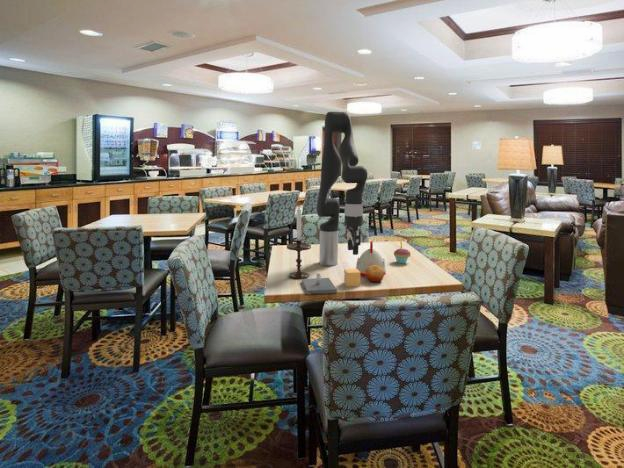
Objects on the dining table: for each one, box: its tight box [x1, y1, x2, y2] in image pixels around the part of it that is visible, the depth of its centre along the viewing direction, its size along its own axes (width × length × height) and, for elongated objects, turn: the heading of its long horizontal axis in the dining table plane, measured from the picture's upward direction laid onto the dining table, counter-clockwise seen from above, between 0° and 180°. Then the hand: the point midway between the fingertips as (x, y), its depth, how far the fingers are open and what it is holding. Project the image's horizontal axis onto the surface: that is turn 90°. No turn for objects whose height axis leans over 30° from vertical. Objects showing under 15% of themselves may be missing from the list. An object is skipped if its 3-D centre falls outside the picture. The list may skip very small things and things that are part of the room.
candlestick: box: [286, 199, 312, 280], centre depth 193 cm, size 11×11×35 cm
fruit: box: [366, 265, 385, 283], centre depth 190 cm, size 8×8×8 cm
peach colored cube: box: [343, 268, 361, 287], centre depth 185 cm, size 6×6×6 cm
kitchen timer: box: [355, 241, 387, 278], centre depth 201 cm, size 14×14×15 cm
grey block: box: [301, 272, 338, 294], centre depth 181 cm, size 16×12×6 cm
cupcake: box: [393, 239, 412, 264], centre depth 221 cm, size 9×8×12 cm
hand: (352, 252), depth 183 cm, fingers open, 8 cm apart
